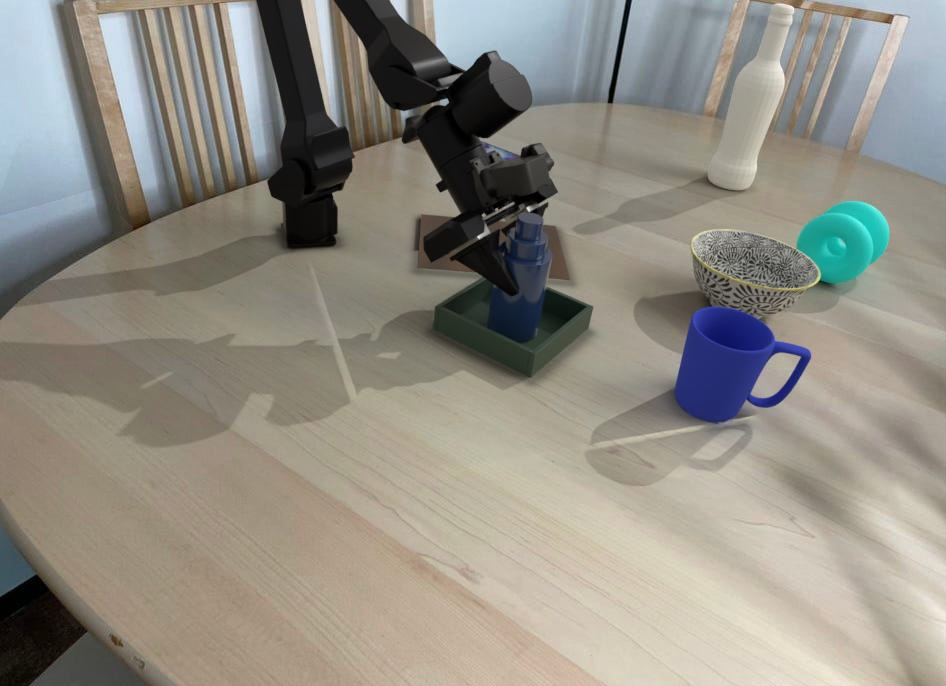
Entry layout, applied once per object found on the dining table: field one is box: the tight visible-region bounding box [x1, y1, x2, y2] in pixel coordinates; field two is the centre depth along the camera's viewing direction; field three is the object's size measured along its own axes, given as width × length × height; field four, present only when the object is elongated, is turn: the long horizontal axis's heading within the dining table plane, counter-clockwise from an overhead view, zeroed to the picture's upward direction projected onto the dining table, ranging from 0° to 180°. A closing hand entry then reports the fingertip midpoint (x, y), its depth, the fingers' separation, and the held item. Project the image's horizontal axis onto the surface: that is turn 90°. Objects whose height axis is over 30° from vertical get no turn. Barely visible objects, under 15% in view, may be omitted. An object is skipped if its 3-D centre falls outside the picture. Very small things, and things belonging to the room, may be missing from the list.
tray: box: [432, 276, 594, 378], centre depth 86 cm, size 13×13×4 cm
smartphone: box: [480, 140, 521, 161], centre depth 131 cm, size 7×1×15 cm
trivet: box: [417, 213, 571, 281], centre depth 103 cm, size 20×16×1 cm
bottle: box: [707, 2, 795, 192], centre depth 126 cm, size 8×8×30 cm
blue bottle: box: [487, 213, 552, 343], centre depth 82 cm, size 6×6×14 cm
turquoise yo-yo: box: [795, 200, 890, 284], centre depth 106 cm, size 10×10×10 cm
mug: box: [674, 306, 812, 424], centre depth 76 cm, size 8×12×10 cm
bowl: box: [689, 228, 821, 320], centre depth 95 cm, size 16×16×8 cm
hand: (530, 284), depth 82 cm, fingers closed on blue bottle, 6 cm apart
